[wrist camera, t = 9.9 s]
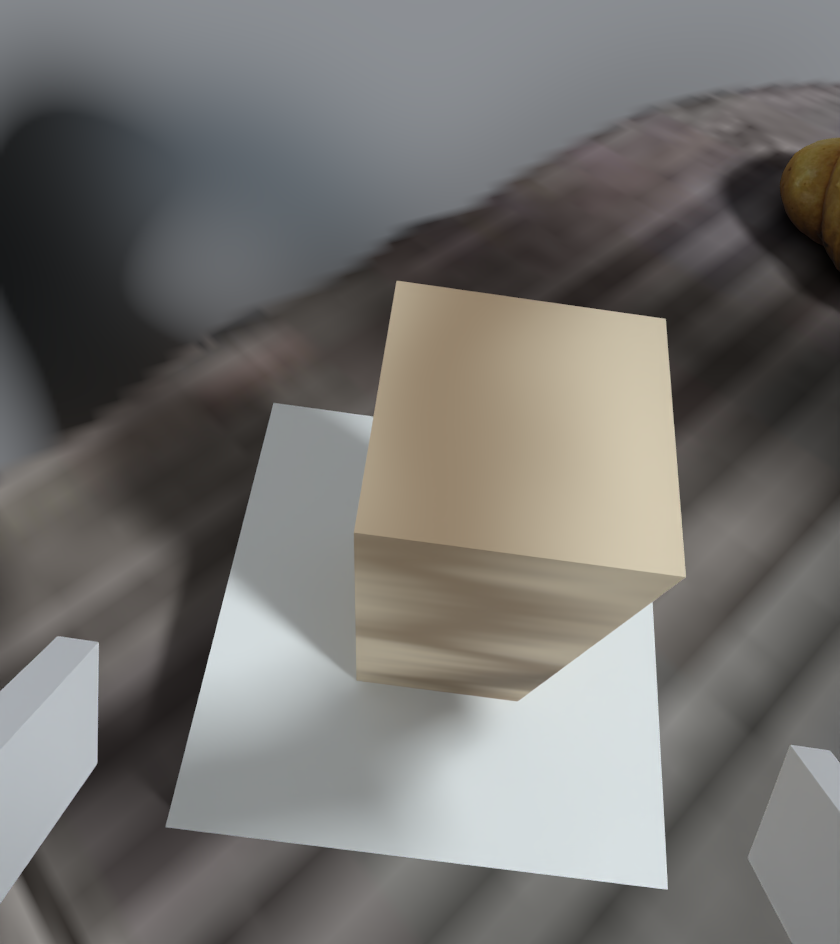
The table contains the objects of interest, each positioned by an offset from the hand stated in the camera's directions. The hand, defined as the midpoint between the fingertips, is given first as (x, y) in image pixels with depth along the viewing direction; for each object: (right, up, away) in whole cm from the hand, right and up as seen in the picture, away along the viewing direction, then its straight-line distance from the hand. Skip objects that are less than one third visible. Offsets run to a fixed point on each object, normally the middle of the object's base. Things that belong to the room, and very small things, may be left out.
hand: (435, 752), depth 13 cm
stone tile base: (0, -1, +12) cm, 12 cm away
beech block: (+1, +1, +9) cm, 9 cm away
